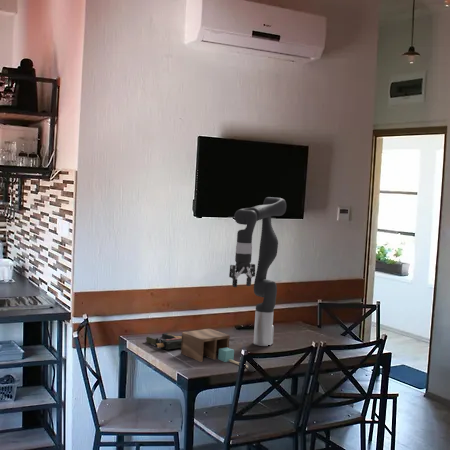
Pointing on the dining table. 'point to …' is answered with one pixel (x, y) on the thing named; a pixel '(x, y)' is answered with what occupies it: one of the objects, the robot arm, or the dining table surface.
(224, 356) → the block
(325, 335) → the dining table surface
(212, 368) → the dining table surface
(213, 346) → the shelf
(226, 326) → the dining table surface
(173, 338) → the submachine gun
